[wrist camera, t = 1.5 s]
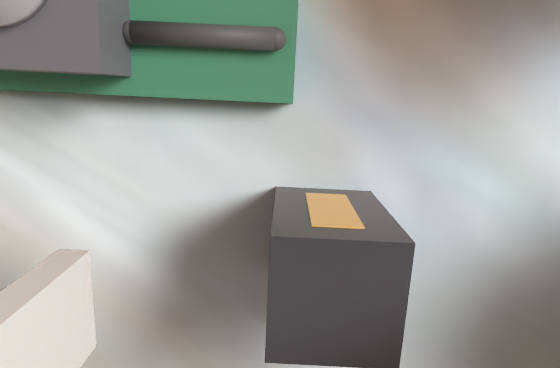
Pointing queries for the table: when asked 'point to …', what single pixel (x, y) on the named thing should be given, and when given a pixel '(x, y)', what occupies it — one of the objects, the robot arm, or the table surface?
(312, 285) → the plug
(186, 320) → the table surface
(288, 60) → the board
